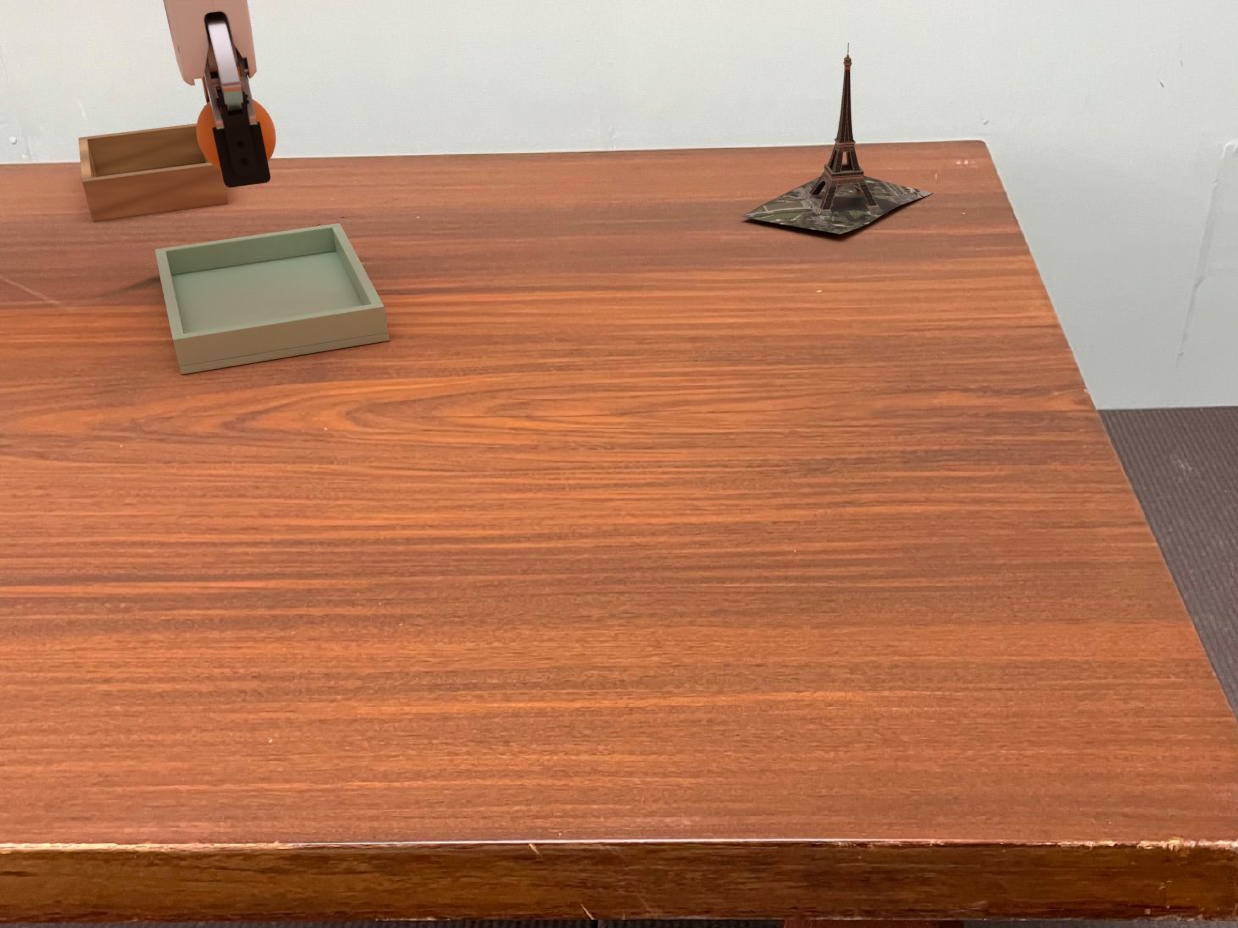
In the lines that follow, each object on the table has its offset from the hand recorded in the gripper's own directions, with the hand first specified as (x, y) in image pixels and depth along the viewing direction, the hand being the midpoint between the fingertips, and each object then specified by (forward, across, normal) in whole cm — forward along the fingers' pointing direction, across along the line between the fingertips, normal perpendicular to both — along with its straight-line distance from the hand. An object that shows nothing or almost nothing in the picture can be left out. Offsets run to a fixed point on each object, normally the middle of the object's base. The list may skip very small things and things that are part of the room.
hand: (242, 169), depth 105 cm
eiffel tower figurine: (+11, -3, +49) cm, 50 cm away
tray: (+10, 0, 0) cm, 10 cm away
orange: (0, 0, 0) cm, 0 cm away
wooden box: (+10, -33, -6) cm, 35 cm away
